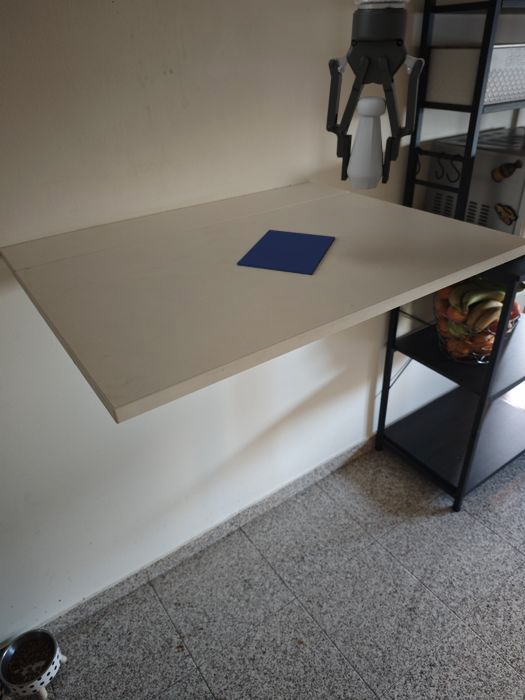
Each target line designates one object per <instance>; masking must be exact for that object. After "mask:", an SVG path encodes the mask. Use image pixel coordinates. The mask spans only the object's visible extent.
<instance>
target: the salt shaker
mask: <svg viewBox="0 0 525 700" xmlns="http://www.w3.org/2000/svg"><path fill="white" fill-rule="evenodd" d="M386 110H387V105H386V99H385V97H381V96H375V95H374V96H373V95H371V96H363V97H360V98H359V101H358V103H357V106H356V113H357V115H359V120H358V123H357V128H356V132H355V135H354V139H353V144H352V146H351V155H350V159H349V163H348V167H347V175H348V178H347V179H348V181H349V183H350V186H351V187H353V188H354V189H357V190H372V189H376V188H377V187H378V184H379V182H380V180H382V175H383V166H384V152H383V137H382V123H381V122H382V121H381V116H383V115H385V114H386Z"/></svg>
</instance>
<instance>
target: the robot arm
mask: <svg viewBox="0 0 525 700" xmlns="http://www.w3.org/2000/svg"><path fill="white" fill-rule="evenodd" d="M410 2H411V0H353V3H354V5H356V6H357V8H356V9H355V10H354V12H353V13H352V22H351V24H352V25H351V37H350V46H349V48H348V50H347V53H346V55H343V56H341V57H340V56H339V57H334V58H331V59H329V60H328V70H329V74H330V83H329V93H328V105H327V113H326V125H325V130H326V132H329V133H332V134H334V135H335V136H336V154H335V155H336V157H337V158H338V159H339V158H340V159H342V161H341V173H340V181H342V182H343V181H344V182H346V181H347V180H348V179H349V178H348V175H347V167H348V163H349V159H350V155H351V151H352V140H353V134H348V132H349V129H350V126H351V123H352V120H353V118H354V115H355V112H356V110H357V103H358V101H359V100H360V99H361V95H362V92H363V90H364V87H365V85H370V84H376V85H381V86H382V89H383V93H384V99H385V101H386V110H387V116H388V117H387V118H388V122H389V128H390V134H391V136H388V137H387V139H386V141H385V149H384V156H383V164H384V166H383V175H382V177H381V184H384V185H386V184H387V183H388V181H389V179H390V170H391V163H392V162H396V161H397V160H398V158H399V155H400V147H401V140H402V138H404V137H407V136H411V135H412V134H413V133H414V131H415V126H416V116H417V106H418V105H417V104H418V93H419V82H420V79H419V78H420V75H421V73H422V71H423V69H424V66H425V59H424V58H422V57H420V58H418V57H414V56H412V55H409V54H408V50H407V48H406V37H407V30H408V22H409V11H408V8H406V4H409V3H410ZM347 64H348V66H349V67H350V69H351V71H352V72H353V75H354V76H355V77H354V81H353V83H352V86H351V90H350V94H349V96H348V99H347V102H346V105H345V108H344V110H343V113H342V117H341V119H340V122H339V123H338V120H339V119H338V118H339V112H340V111H339V109H340V102H341V93H342V92H341V91H342V83H343V73H345V71H346V67H347ZM404 64H405V66H406V69H405V72H406V74H408V75H409V77H408V83H407V95H406V108H405V119H404V121H405V122H404V126H402V125H401V118H400V117H401V116H400V111H399V105H398V99H397V92H396V84H395V78H394V77H395V76H396V74H397V73H398V71H399V70H400V69H401V68H402V66H403V65H404Z"/></svg>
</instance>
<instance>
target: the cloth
mask: <svg viewBox="0 0 525 700" xmlns="http://www.w3.org/2000/svg"><path fill="white" fill-rule="evenodd" d="M335 239H336V236H331V235H323V234H314V233H313V234H312V233H305V232H295V231H293V232H292V231H286V230H277V229H269V230H267V231H266V233H264V234H263V236H262V237H260V238H259V240H258V241H257V242H256V243H254V245H252V247H251V248H250V249H249V250H248V251H247V252H246V253H245V254H244V255H243V256H242V257H241V258H240V259H239V260H238V261H237V262H236V266H241V267H248V268H256V269H264V270H271V271H278V272H285V273H294V274H302V275H309V276H312V275H313V274H314V272H315V271H316V269H317V268H318V266H319V264H320V263H321V262H322V260H323V258H324V257H325V255H326V253H327V252H328V251H329V248H330V247H331V245H332V244H333V242H334V241H335Z"/></svg>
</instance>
